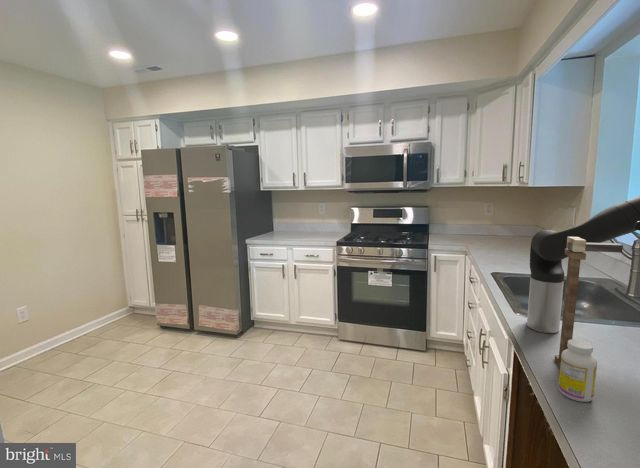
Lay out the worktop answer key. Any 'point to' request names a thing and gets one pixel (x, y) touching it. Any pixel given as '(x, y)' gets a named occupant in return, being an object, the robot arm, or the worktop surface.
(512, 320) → the worktop surface
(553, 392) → the worktop surface
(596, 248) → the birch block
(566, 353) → the supplement bottle
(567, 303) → the walnut stand
